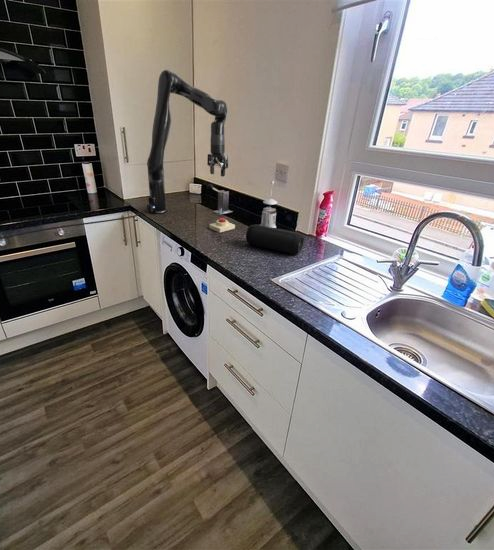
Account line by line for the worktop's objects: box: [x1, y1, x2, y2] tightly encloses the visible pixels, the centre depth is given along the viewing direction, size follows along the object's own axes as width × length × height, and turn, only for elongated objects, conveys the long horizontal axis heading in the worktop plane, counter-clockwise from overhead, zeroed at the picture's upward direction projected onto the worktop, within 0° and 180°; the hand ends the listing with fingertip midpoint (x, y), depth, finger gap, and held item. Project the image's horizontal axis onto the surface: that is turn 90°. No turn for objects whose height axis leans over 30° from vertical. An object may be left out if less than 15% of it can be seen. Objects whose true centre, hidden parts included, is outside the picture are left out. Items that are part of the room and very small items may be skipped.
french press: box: [259, 180, 278, 228], centre depth 168 cm, size 10×12×25 cm
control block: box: [208, 219, 236, 233], centre depth 168 cm, size 11×9×4 cm
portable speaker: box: [245, 223, 305, 255], centre depth 143 cm, size 26×10×10 cm, turn 61°
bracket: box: [212, 189, 234, 215], centre depth 190 cm, size 10×8×14 cm
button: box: [218, 217, 227, 223], centre depth 167 cm, size 4×4×2 cm
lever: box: [207, 183, 223, 196], centre depth 184 cm, size 15×3×3 cm, turn 132°
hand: (217, 175), depth 169 cm, fingers open, 8 cm apart
